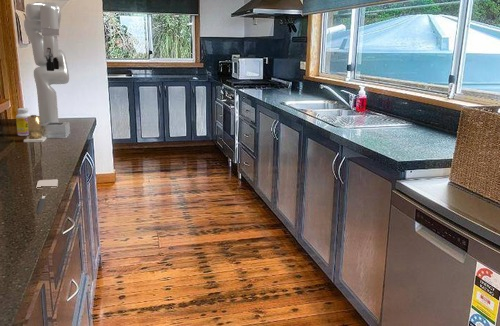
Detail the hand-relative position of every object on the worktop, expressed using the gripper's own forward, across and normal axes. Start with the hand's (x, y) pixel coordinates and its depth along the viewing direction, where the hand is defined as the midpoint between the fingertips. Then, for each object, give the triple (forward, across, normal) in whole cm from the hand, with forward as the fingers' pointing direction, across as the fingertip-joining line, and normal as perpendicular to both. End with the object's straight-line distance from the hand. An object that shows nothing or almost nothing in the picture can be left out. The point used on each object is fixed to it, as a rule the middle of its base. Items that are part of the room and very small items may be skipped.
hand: (53, 69), depth 220 cm
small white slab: (+29, +100, +19) cm, 106 cm away
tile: (+31, +16, -6) cm, 35 cm away
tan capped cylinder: (+30, +16, -6) cm, 34 cm away
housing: (+31, +5, 0) cm, 32 cm away
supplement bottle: (+32, +2, -15) cm, 35 cm away
